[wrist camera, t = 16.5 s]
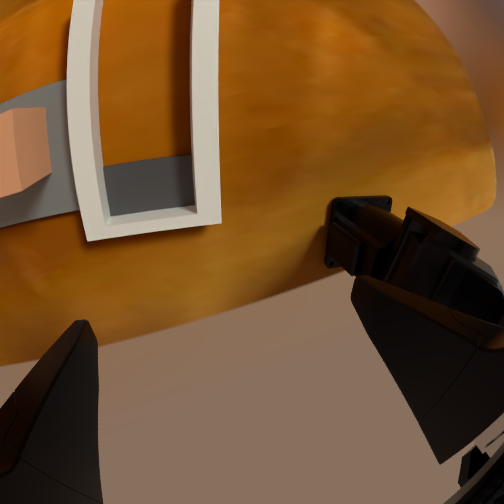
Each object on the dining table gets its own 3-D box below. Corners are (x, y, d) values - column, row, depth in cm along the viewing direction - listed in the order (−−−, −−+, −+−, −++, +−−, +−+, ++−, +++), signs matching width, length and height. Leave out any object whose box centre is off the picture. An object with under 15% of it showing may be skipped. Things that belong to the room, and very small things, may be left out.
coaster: (77, 77, 12) (74, 76, 12) (89, 205, 16) (87, 208, 16) (-20, 115, 10) (-24, 116, 9) (-3, 226, 14) (-6, 229, 14)
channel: (214, -14, 11) (220, -26, 10) (216, 212, 19) (221, 223, 18) (83, 3, 9) (75, -7, 7) (94, 229, 17) (87, 241, 16)
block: (45, 107, 12) (12, 108, 8) (52, 172, 14) (21, 191, 10) (-3, 126, 11) (-40, 134, 7) (4, 186, 13) (-29, 207, 9)
